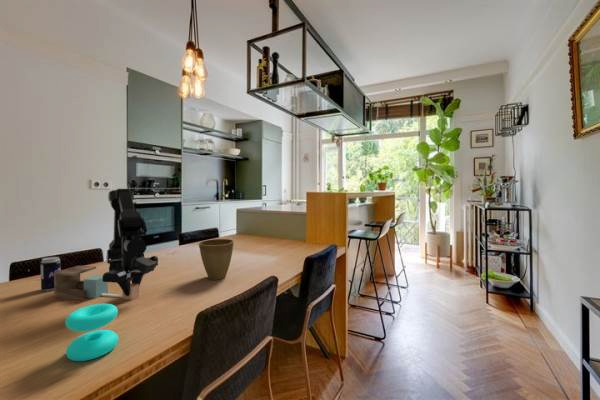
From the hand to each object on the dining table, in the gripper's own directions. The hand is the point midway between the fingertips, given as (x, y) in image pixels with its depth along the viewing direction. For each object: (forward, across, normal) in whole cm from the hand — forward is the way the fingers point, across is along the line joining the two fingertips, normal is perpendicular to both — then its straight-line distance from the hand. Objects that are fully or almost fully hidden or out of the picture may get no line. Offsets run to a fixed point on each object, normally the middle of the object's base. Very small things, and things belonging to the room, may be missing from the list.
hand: (131, 293), depth 97 cm
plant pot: (+2, +27, -19) cm, 33 cm away
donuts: (+2, -30, -15) cm, 34 cm away
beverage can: (+2, +2, +37) cm, 37 cm away
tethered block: (+1, 0, +8) cm, 8 cm away
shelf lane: (+2, 0, +21) cm, 21 cm away
